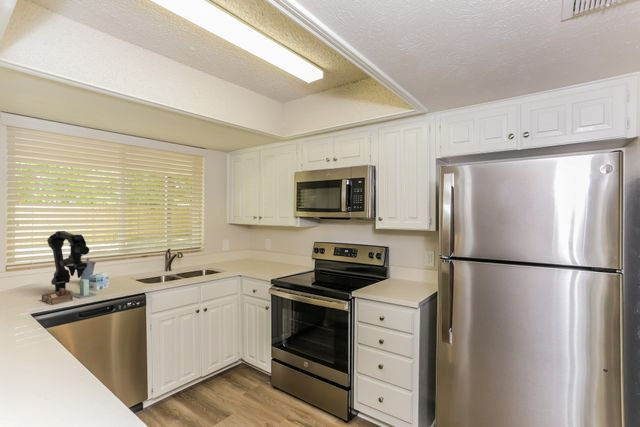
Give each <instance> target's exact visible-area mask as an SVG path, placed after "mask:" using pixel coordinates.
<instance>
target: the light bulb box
mask: <svg viewBox="0 0 640 427" xmlns="http://www.w3.org/2000/svg"><path fill="white" fill-rule="evenodd" d="M107 288H110V273H109V272H98V273H93V275H90V285H89V291H99V290H103V289H107Z"/></svg>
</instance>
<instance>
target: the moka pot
mask: <svg viewBox="0 0 640 427" xmlns="http://www.w3.org/2000/svg"><path fill="white" fill-rule="evenodd" d="M81 261H82V262H85V263H87V267H86V268H85V270H84V271H83V273H82V275H81V277H80V278H79V281H80V280H82V279H87V280H89V286H90V275H93V274H94V270H95V264H96V261H93V260H90V258H86V260H81Z"/></svg>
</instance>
